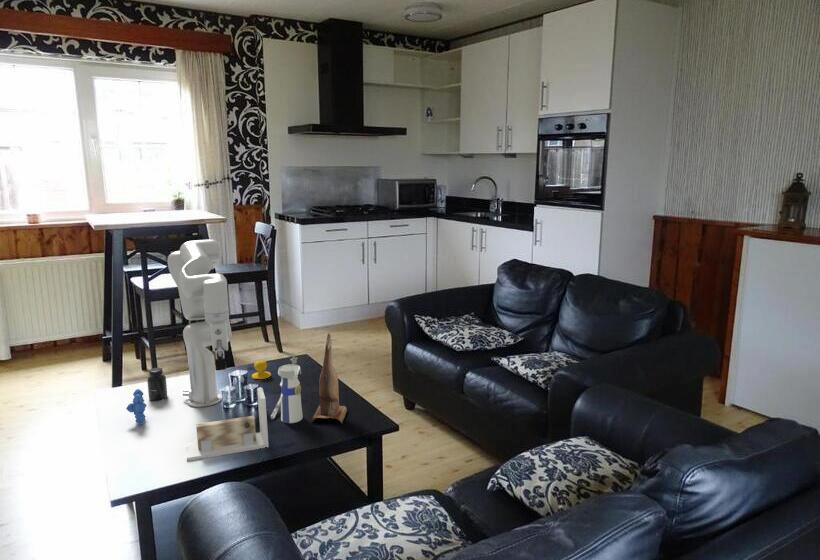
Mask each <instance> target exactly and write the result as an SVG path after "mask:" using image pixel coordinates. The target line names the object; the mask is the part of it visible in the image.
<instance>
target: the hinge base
mask: <svg viewBox="0 0 820 560" xmlns="http://www.w3.org/2000/svg"><path fill="white" fill-rule="evenodd" d="M256 390H257V391H256V392H257V393H256V394H257V403H258V404H257V406H258V418H259V419H258V420H259V432H256V441H253V433H248V434H243V438H244V443H241V444H235V445H229V446H223V447H216V448H212V447H211V440H205V441H201V449H202V450H198V441H197V442H192V443H191V442H190V443H187V444H186V461H187V460H190V461H194V460H193V459H196V460H200V459H199V458H202V459H207V458H206V457H208V458H213V456H214V457H218V456H225V455H230V454H238V453H241V452H242V453H243V452H249V451H254V450H258V449H259V450H260V448H261V449H266V448H265V447H267V448H270V447H269V445H270V444H269V433H268V418H267V402H266V396H265V393H264V389H263V387H262V386H261V387H257V388H256Z"/></svg>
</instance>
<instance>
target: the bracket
mask: <svg viewBox="0 0 820 560" xmlns="http://www.w3.org/2000/svg"><path fill="white" fill-rule="evenodd" d="M280 409H281V396H280V397H279V399H278V401H277V403H276V405H275V408H274V409H273V411H272V412H271V415H270V419H271V420H274V419H275V418H276V416H277V413H278V412H279V410H280Z"/></svg>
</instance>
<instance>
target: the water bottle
mask: <svg viewBox="0 0 820 560" xmlns="http://www.w3.org/2000/svg"><path fill="white" fill-rule="evenodd" d="M298 358H299V357H295V355H293V356H292V358H290V359H289V361H291V364H290V363H288V364H284V365H281V366H279V368H278V370H277V374H278V376H280V379H281V381H280V383H279V386H280V388H281V389H280V390H281V394H280V397H281V406H280V420H281V422H282V423H284V424H294V423H298V422H301V420H303V407H302V396H301V391H302V386H301V385H300V384H301V383H300V380H299V378H298V375H299V374H300V376H301V374H302V370H301V366H300V365H298V364H297V363H298V362H297V361H298Z"/></svg>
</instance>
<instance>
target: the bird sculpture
mask: <svg viewBox="0 0 820 560" xmlns="http://www.w3.org/2000/svg"><path fill="white" fill-rule="evenodd" d="M332 340H333V339H332V334H331V333H330V332H329V333H327V337H326V343H325V350H324V357H323V362H322V369H321V372H320V375H319V381H318V383H319V384H318V385H319V386H318V387H319V390H318V392H319V393H318V394H319V405H318V406H317V409H316V411H315V413H314V414H313V417H312V418H311V423H313V422H314V421H315V420H316V419H319V418H320V419H325V418H326V419H329V418H331V419H336V420H338V421H340V424H343V421H344V419H345V417H346V414H347V410H348V409H347V407H346V405H340V399H339V398H340V396H339V394H340V393H339V377H338V376H339V375H338V373H337V370H336V369H335V367H334V366H333V365H334V364H333V348H332V347H333V345H332V344H333V343H332Z"/></svg>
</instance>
